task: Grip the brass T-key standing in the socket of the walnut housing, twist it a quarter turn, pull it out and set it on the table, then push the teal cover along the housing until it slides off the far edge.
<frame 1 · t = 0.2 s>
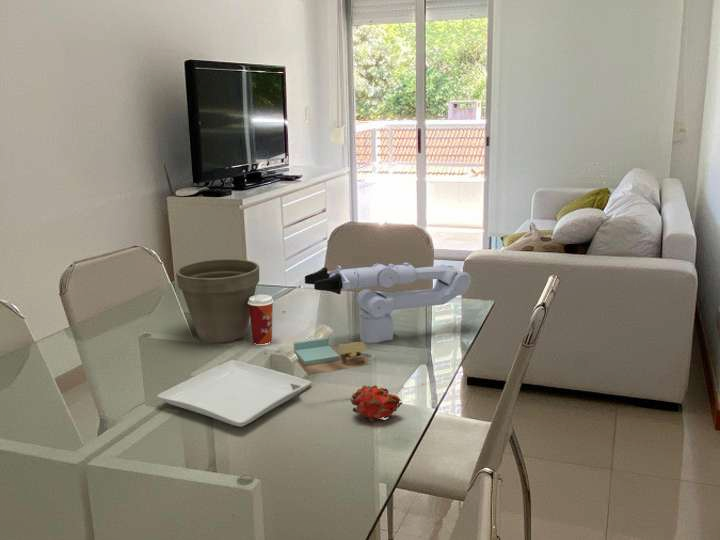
hand: (309, 282, 196), 21 cm above the table, tool horizontal, fingers open, 7 cm apart
plant pot: (222, 335, 217), on the table
housing: (330, 363, 194), on the table
square plate: (236, 401, 173), on the table
paper cup: (262, 342, 210), on the table
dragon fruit: (376, 417, 163), on the table
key: (352, 361, 192), point 1 cm above the table, touching housing
cover: (316, 350, 194), point 3 cm above the table, slide at 0.0 cm
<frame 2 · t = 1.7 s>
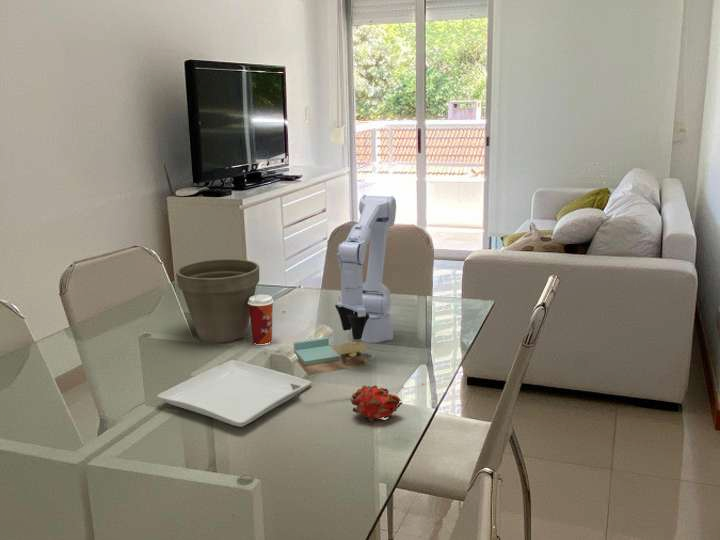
hand: (352, 334, 190), 9 cm above the table, tool pointing down, fingers open, 7 cm apart
nothing on the table moved.
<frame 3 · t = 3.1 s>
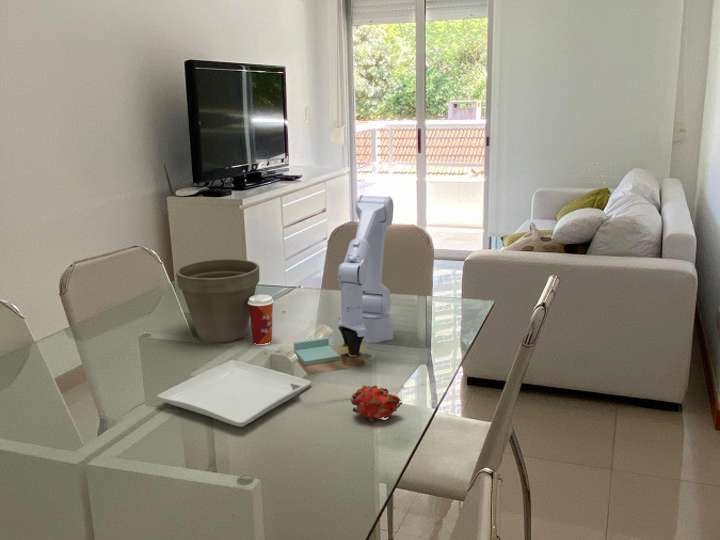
hand: (352, 353, 191), 4 cm above the table, tool pointing down, fingers closed on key, 2 cm apart
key: (352, 361, 192), point 1 cm above the table, touching gripper, housing
everything else where it was.
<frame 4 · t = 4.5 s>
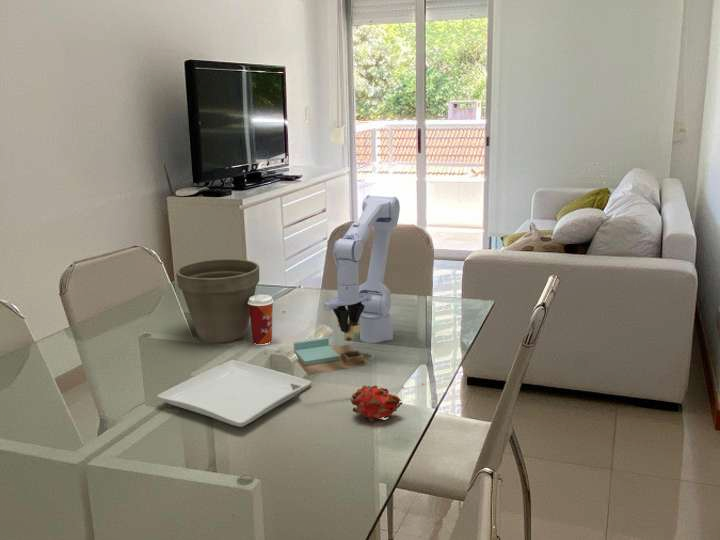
hand: (348, 330, 191), 10 cm above the table, tool pointing down, fingers closed on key, 2 cm apart
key: (348, 339, 192), point 7 cm above the table, touching gripper
everything else where it was.
when the fingers open (4 cm above the table, at t = 6.2 s): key drops 1 cm, on the table.
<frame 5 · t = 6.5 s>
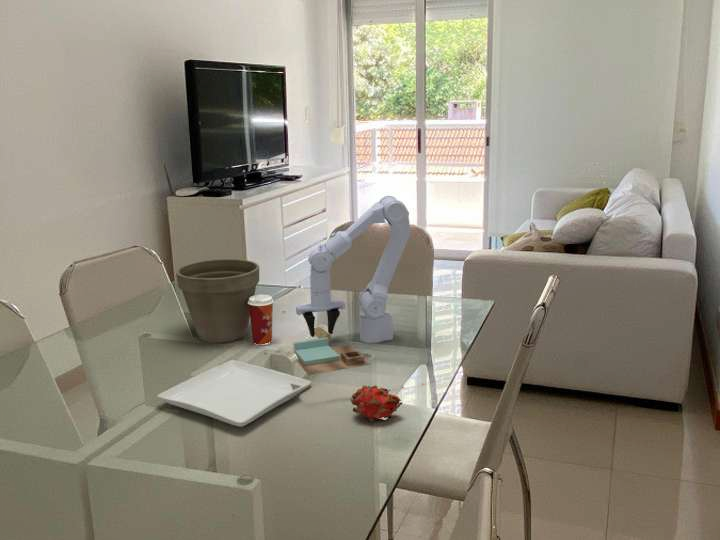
hand: (321, 334, 205), 4 cm above the table, tool pointing down, fingers open, 5 cm apart
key: (322, 347, 206), on the table
everything else where it was.
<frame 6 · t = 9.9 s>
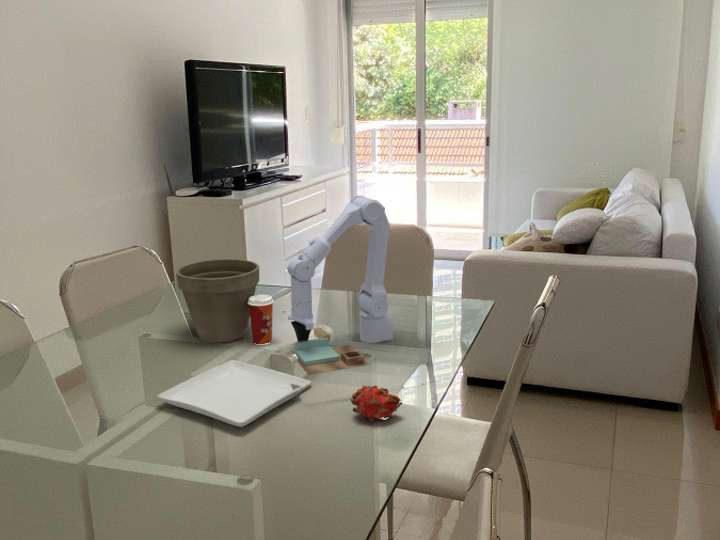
hand: (302, 345, 199), 3 cm above the table, tool pointing down, fingers closed
cover: (316, 351, 194), point 3 cm above the table, slide at 0.2 cm, touching gripper
everything else where it was.
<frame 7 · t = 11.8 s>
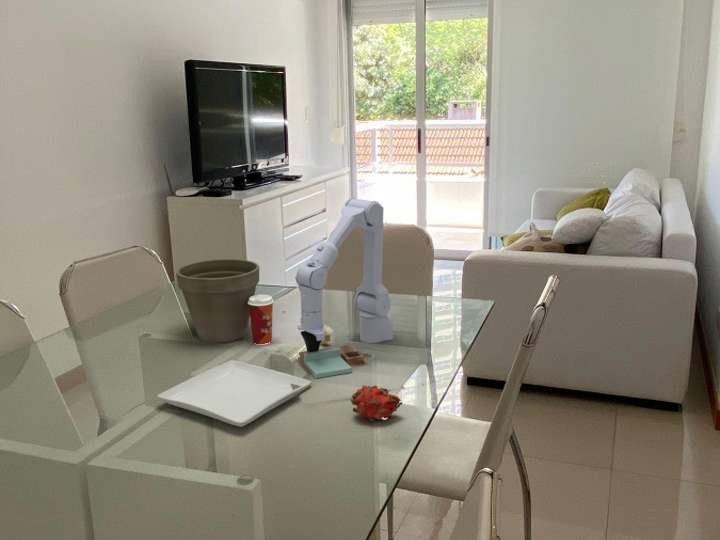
hand: (312, 356, 191), 3 cm above the table, tool pointing down, fingers closed
cover: (327, 362, 186), point 3 cm above the table, slide at 9.1 cm, touching gripper
everything else where it was.
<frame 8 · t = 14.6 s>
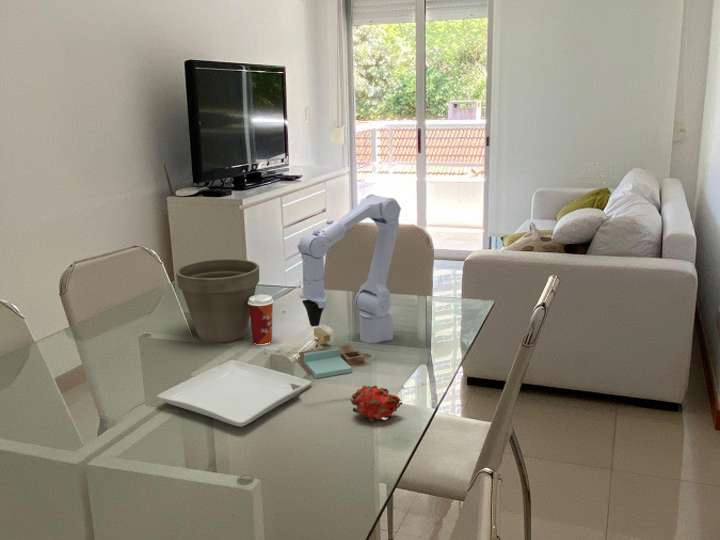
hand: (314, 325, 194), 10 cm above the table, tool pointing down, fingers closed
cover: (327, 362, 186), point 3 cm above the table, slide at 9.2 cm
everything else where it was.
at the end: cover slide at 9.2 cm; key inside the target area (0.4 cm from its centre), on the table; the gripper is holding nothing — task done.
